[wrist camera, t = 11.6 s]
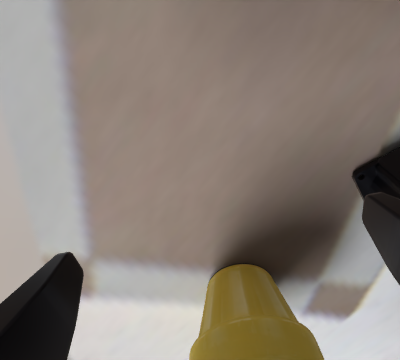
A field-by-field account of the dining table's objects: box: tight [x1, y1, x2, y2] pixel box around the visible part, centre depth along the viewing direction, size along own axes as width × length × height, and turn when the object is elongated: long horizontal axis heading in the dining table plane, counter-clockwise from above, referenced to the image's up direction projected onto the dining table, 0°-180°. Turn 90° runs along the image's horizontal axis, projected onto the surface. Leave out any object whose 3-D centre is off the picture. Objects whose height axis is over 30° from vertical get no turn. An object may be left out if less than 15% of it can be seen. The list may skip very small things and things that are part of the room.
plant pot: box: [189, 264, 324, 360], centre depth 24 cm, size 10×10×10 cm
